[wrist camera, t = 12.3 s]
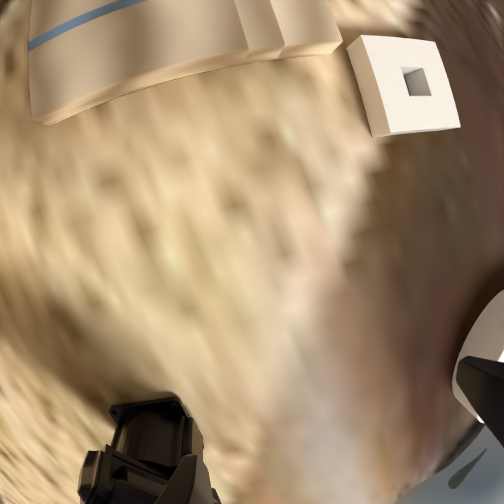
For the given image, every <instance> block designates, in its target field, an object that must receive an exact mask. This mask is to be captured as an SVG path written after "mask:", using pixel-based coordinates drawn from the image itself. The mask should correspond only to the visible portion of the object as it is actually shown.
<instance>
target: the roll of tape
mask: <svg viewBox="0 0 504 504" xmlns="http://www.w3.org/2000/svg"><path fill="white" fill-rule="evenodd" d="M465 356H474V357H479V358H484V359H489V360H494V361H499V362H504V290H502V291H501V292H500V293H498V294H497V295H496V296H495V297H494V298H493V299H492V300H491V301H490V302H489V303H488V305H487V306H486V307H485V309H484V310H483V311H482V313H481V314H480V316H479V317H478V319H477V320H476V322H475V323H474V325H473V327H472V329H471V330H470V332H469V334H468V336H467V338H466V340H465V342H464V344H463V346H462V349H461V351H460V353H459V356H458V359H457V362H456V365H455V368H454V373H453V378H452V389H453V393H454V396H455V397H456V398H457V399H458V400H459V401H460V402H461V403H462V404H463V405H464V406H465V407H466V408H467V409H468V410H469V411H470V412H471V413H472V414H473V415H474V416H475V417H476V418H477V419H478V420H479V421H480V422H482V423H484V422H483V421H482V419H481V418H480V417H479V416H478V414H477V413H476V412H475V410H474V409H473V407H472V406H471V404H470V403H469V401H468V400H467V398H466V396H465V395H464V393H463V392H462V390H461V389H460V387H459V386H458V384H457V382H456V372H457V366H458V362H459V360H461V359H462V358H464V357H465Z"/></svg>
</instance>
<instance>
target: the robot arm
mask: <svg viewBox="0 0 504 504" xmlns="http://www.w3.org/2000/svg"><path fill="white" fill-rule="evenodd" d="M456 382H457V384H458V386H459V387H460V389H461V390H462V392H463V393H464V395H465V396H466V398H467V400H468V401H469V403H470V404H471V406H472V407H473V409H474V410H475V412H476V413H477V414H478V416H479V417H480V418H481V419H482V421H483V422H484V423H485V424H486V426H487V427H488V428H489V429H490V431H491V432H492V433H493V434H494V436H495V437H496V438H497V440H498V441H499V442H500V443H501V445H502V446H503V447H504V362H499V361H494V360H489V359H484V358H479V357H474V356H465V357H464V358H462V359H461V360H459V362H458V366H457V372H456ZM173 402H175V403H177V404H174V403H173ZM115 411H116V412H115ZM109 413H110V415H111V416H112V418H113V419H114V421H115V422H116V424H117V427H116V430H115V433H114V436H113V439H112V443H111V446H109V445H107V444H106V445H105V446H104V447H103V449H102V450H100V451H88V452H87V454H86V456H85V459H84V462H83V465H82V468H81V471H80V476H79V483H78V491H77V492H78V494H79V496H80V504H221V502H220V499H219V497H218V495H217V492H216V490H215V489H214V488H211V484H210V478H209V472H208V469H207V467H206V465H205V464H204V462H203V449H204V443H203V436H202V434H201V432H200V430H199V428H198V427H197V425H196V423H195V421H194V419H193V418H192V417H189V416H188V414H187V412H186V410H185V408H184V406H183V404H182V402H181V400H180V399H179V398H177V397H171V398H165V399H159V400H152V401H146V402H138V403H131V404H123V405H114V406H111V407H110V409H109Z"/></svg>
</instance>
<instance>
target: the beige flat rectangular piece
mask: <svg viewBox="0 0 504 504" xmlns="http://www.w3.org/2000/svg"><path fill="white" fill-rule="evenodd" d="M342 42H343V39H342V36H341V34H340V31H339V29H338V26H337V23H336V21H335V18H334V16H333V14H332V11H331V9H330V6H329V4H328V2H327V0H32V5H31V16H30V30H29V42H28V51H29V90H30V105H31V116H32V121H34V122H37V123H40V124H44V125H47V126H52V125H54V124H56V123H58V122H60V121H62V120H64V119H67V118H69V117H71V116H73V115H75V114H78V113H80V112H82V111H85V110H87V109H89V108H92V107H94V106H97V105H99V104H102V103H104V102H107V101H110V100H112V99H115V98H118V97H120V96H123V95H126V94H129V93H132V92H135V91H138V90H141V89H144V88H147V87H150V86H153V85H157V84H160V83H163V82H167V81H170V80H174V79H178V78H181V77H185V76H189V75H193V74H197V73H202V72H206V71H211V70H215V69H220V68H225V67H230V66H235V65H241V64H247V63H253V62H260V61H267V60H274V59H283V58H292V57H303V56H316V55H330V54H331V53H332V52H333V51H334V50H335V49H336V48H337V47H338V46H339V45H340V44H341V43H342Z"/></svg>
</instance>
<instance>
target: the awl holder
mask: <svg viewBox="0 0 504 504" xmlns="http://www.w3.org/2000/svg"><path fill="white" fill-rule="evenodd" d="M346 50H347V52H348V55H349V58H350V61H351V64H352V67H353V70H354V73H355V77H356V80H357V83H358V86H359V90H360V93H361V97H362V100H363V104H364V107H365V111H366V115H367V119H368V123H369V127H370V131H371V135H372V137H380V136H388V135H396V134H405V133H415V132H426V131H438V130H445V129H452V128H458V127H460V122H459V118H458V114H457V110H456V106H455V102H454V99H453V95H452V92H451V88H450V85H449V81H448V78H447V75H446V72H445V69H444V66H443V63H442V60H441V58H440V55H439V52H438V49H437V47H436V44H435V42H431V41H424V40H417V39H408V38H399V37H387V36H371V35H360V36H359V37H358V38H357V39H356V40H355V41H353V42H352V43H351V44H350V45H349V46H348V47H347V48H346ZM403 76H405V79H406V82H407V85H408V89H409V92H410V95H411V96H409V93H408V90H407V86H406V83H405V80H404V77H403Z"/></svg>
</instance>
